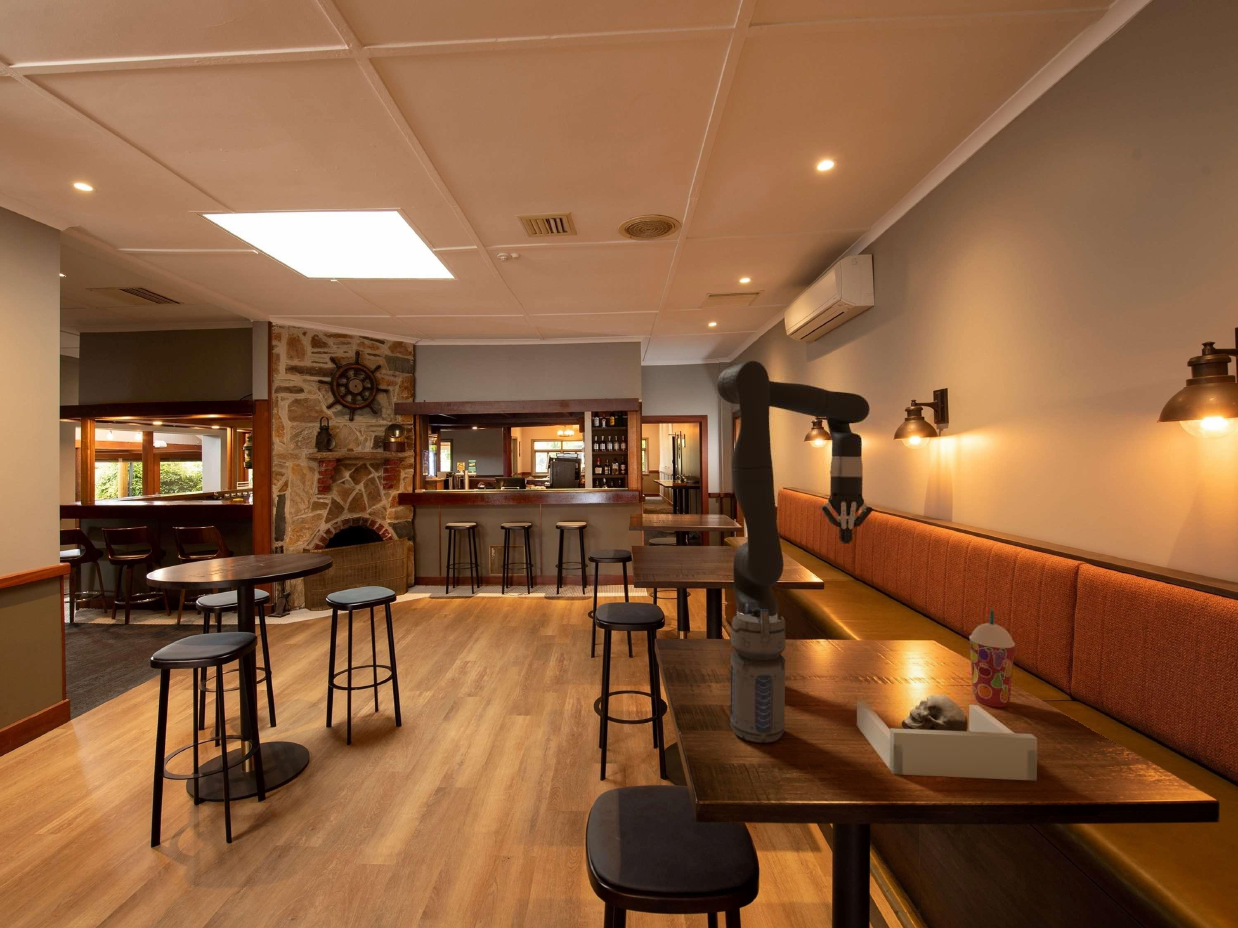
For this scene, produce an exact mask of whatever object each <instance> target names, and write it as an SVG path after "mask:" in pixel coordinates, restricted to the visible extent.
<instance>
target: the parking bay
mask: <svg viewBox="0 0 1238 928" xmlns="http://www.w3.org/2000/svg"><path fill="white" fill-rule="evenodd" d="M968 710H969V711H968V712H969V713H968V715H969V717H968V718H969V719H968V726H969V727H968V730H967V731H943V730H918V729H904V728H891V727H890V728H889V727H888V726H887V725H886V723H885V722H884V721H883V720H882V719H881V718H880V716H878V714H877V713H876V712H875V710H873V709H872V707H871V706H870V705H869V703H867V701H866V700H856V727H857V728H858V729H859V730H860V732H861V733H862V735H864V737H865V738H866V740H867V741H868V742H869V744H870V745H871V746H872V747H873V750H875V752H876V753H877V755H879V757H880V759H881V760H882V761H883V762H884V764H885V765H886V766H887V768H888V769H889V770H890V772H891V773H892V774H893V775H907V776H908V775H909V776H910V775H911V776H926V777H929V776H930V777H931V776H932V777H933V776H934V777H946V778H948V777H951V778H968V779H970V778H972V779H973V778H974V779H975V778H976V779H991V780H992V779H995V780H1014V781H1015V780H1016V781H1017V780H1018V781H1035V782H1037V781H1038V780H1037V779H1038V773H1037V772H1038V771H1037V770H1038V769H1037V768H1038V738H1037V737H1036V736H1035V735H1034V734H1032V733H1015V732H1014V731H1012V730H1011V729H1010V728H1008V727H1007V726H1005V725H1004V724H1003V723H1002V722H1000V721H999V720H998V719H997V718H996V717H994V716H993V715H991V714H990V713H989V712H987V711H986V710H985V709H983V708H982V707H981V706H979V705H978V704H969V709H968Z"/></svg>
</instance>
